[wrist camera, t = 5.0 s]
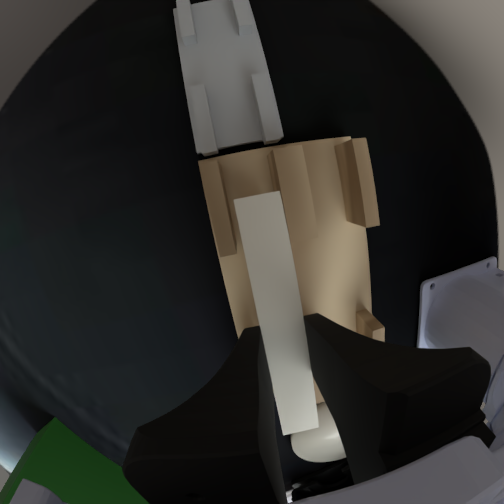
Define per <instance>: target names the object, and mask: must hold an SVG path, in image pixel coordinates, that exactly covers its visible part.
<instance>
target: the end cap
mask: <svg viewBox="0 0 504 504" xmlns="http://www.w3.org/2000/svg"><path fill="white" fill-rule="evenodd" d="M291 484H292V487H293V488H295V489H294V490H293V491H292V499H291V500H292V501H293V502H295V501H298V500H302V499H305V498H308V497H313V496H317V495H321V494H325V493H329V492H333V491H336V490H340V489H343V488H347V487H350V486H353V485H354V481H353V478H352V474H351V471H350V467H349V464H348V461H347V457H346V458H344V459H342V460H340V461H338V462H336V463H334V464H331V465H329V466H327V467H325V468H323V469H320V470H318V471H316V472H314V473H311V474H309V475H306V476H304V477H301V478H299V479H296V480H294V481H292V483H291Z"/></svg>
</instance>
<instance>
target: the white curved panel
mask: <svg viewBox="0 0 504 504" xmlns="http://www.w3.org/2000/svg"><path fill="white" fill-rule="evenodd" d="M234 205H235V209H236V214H237V219H238V224H239V229H240V234H241V239H242V244H243V249H244V253H245V258H246V263H247V268H248V273H249V277H250V282H251V287H252V292H253V297H254V301H255V306H256V311H257V316H258V320H259V325H260V328H261V333H262V337H263V342H264V347H265V352H266V356H267V361H268V366H269V370H270V375H271V380H272V385H273V390H274V395H275V399H276V404H277V409H278V413H279V418H280V422H281V427H282V431H283V435H287V434H292V433H297V432H301V431H305V430H310V429H314V428H318V427H319V423H318V414H317V406H316V399H315V391H314V384H313V376H312V371H311V364H310V357H309V351H308V344H307V337H306V331H305V325H304V319H303V318H304V317H303V311H302V305H301V300H300V294H299V288H298V282H297V277H296V271H295V266H294V260H293V255H292V250H291V244H290V239H289V234H288V229H287V224H286V219H285V214H284V209H283V204H282V199H281V195H280V191H275V192H270V193H264V194H259V195H254V196H249V197H244V198H239V199H234Z"/></svg>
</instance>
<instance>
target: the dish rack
mask: <svg viewBox="0 0 504 504" xmlns="http://www.w3.org/2000/svg"><path fill="white" fill-rule="evenodd" d="M198 163H199V168H200V173H201V178H202V183H203V188H204V193H205V198H206V202H207V207H208V212H209V216H210V221H211V226H212V230H213V235H214V239H215V244H216V248H217V253H218V257H219V261H220V266H221V270H222V274H223V278H224V283H225V287H226V291H227V295H228V299H229V303H230V307H231V311H232V316H233V320H234V323H235V327H236V331H237V335H238V339H239V337H240V335H241V333H242V331H243V330H244V328H249V327H254V326H259V320H258V316H257V311H256V306H255V301H254V297H253V292H252V287H251V282H250V277H249V273H248V268H247V263H246V258H245V253H244V249H243V244H242V239H241V234H240V229H239V224H238V219H237V214H236V209H235V205H234V199H239V198H244V197H249V196H254V195H259V194H264V193H270V192H275V191H280V195H281V199H282V204H283V209H284V214H285V219H286V224H287V229H288V234H289V239H290V244H291V250H292V255H293V260H294V266H295V271H296V277H297V282H298V288H299V294H300V300H301V305H302V311H303V316H305V315H310V314H314V313H319V314H321V315H323V316H324V317H326V318H328V319H330V320H332V321H334V322H336V323H337V324H339V325H341V326H343V327H345V328H348V329H350V330H352V331H354V332H356V333H359V334H362V335H364V336H367V337H369V338H372V339H376V340H379V341H383V342H384V333H385V327H384V326H383V325H382V324H381V323H380V322H379V321H378V320H377V319H376V318H375V317H374V316H373V315H372V308H371V285H370V270H369V257H368V246H367V236H366V228H368V227H373V226H378V225H380V223H379V214H378V206H377V199H376V192H375V185H374V179H373V173H372V167H371V161H370V156H369V151H368V146H367V141H366V138H357V139H351V137H339V138H330V139H321V140H313V141H305V142H298V143H291V144H284V145H277V146H271V147H265V148H260V149H254V150H249V151H243V152H238V153H233V154H228V155H223V156H219V157H214V158H209V159H205V160H201V161H198ZM312 376H313V374H312ZM313 384H314V391H315V399H316V404H317V403H321V402H325V401H324V399H323V397H322V395H321V392H320V390H319V388H318V386H317V384H316V382H315V380H314V377H313ZM273 391H274V390H273Z"/></svg>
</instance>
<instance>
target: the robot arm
mask: <svg viewBox="0 0 504 504" xmlns="http://www.w3.org/2000/svg"><path fill="white" fill-rule="evenodd" d="M431 284H432V286H431V288H430V285H431ZM303 317H304V318H303V319H304V325H305V331H306V337H307V344H308V351H309V357H310V364H311V371H312V374H313V377H314V380H315V382H316V384H317V386H318V388H319V390H320V392H321V395H322V397H323V399H324V401H325V403H326V405H327V407H328V409H329V411H330V413H331V415H332V417H333V419H334V422H335V424H336V427H337V430H338V432H339V435H340V438H341V442H342V445H343V448H344V451H345V454H346V457H347V461H348V464H349V467H350V471H351V474H352V478H353V481H354V485H353V486H350V487H347V488H343V489H340V490H336V491H333V492H329V493H325V494H321V495H317V496H313V497H308V498H305V499H302V500H298V501H295V502H291V503H287V497H286V492H285V486H284V481H283V475H282V470H281V464H280V459H279V453H278V447H277V441H276V432H275V414H274V396H273V385H272V380H271V375H270V370H269V366H268V361H267V356H266V352H265V347H264V342H263V337H262V333H261V328H260V325H259V326H254V327H249V328H244V330H243V331H242V333H241V335H240V337H239V339H238V341H237V343H236V345H235V347H234V348H233V350H232V352H231V353H230V355H229V357H228V358H227V360H226V361H225V362H224V364H223V365H222V367H221V368H220V369H219V371H218V372H217V373H216V374H215V376H214V377H213V378H212V379H211V380H210V381H209V382H208V383H207V384H206V385H205V386H204V387H203V388H201V389H200V390H199V391H198V392H197V393H195V394H194V395H193V396H192V397H191V398H189V399H188V400H187V401H185V402H184V403H183V404H181V405H180V406H178V407H177V408H175V409H173V410H172V411H170V412H168V413H167V414H165V415H163V416H161V417H159V418H157V419H155V420H153V421H151V422H149V423H147V424H145V425H142V426H140V427H137V429H136V431H135V434H134V436H133V438H132V440H131V443H130V446H129V449H128V452H127V455H126V458H125V461H124V464H123V467H122V471H123V475H124V477H125V478H126V480H127V481H128V482H129V484H130V485H131V486H132V487H133V488H134V489H135V490H136V491H137V492H138V493H139V494H140V495H141V496H142V497H143V498H144V499H145V500H146V501H147V502H148V503H149V504H504V271H503V270H500V269H498V268H497V259H496V258H495V257H490V258H487V259H485V260H482V261H479V262H477V263H474V264H471V265H469V266H466V267H463V268H460V269H458V270H455V271H452V272H449V273H446V274H443V275H440V276H437V277H434V278H431V279H428V280H425V281H424V282H423V283H422V284H421V286H420V308H419V325H418V338H417V348H415V347H408V346H401V345H395V344H391V343H387V342H383V341H379V340H376V339H372V338H369V337H367V336H364V335H362V334H359V333H356V332H354V331H352V330H350V329H348V328H345V327H343V326H341V325H339V324H337V323H336V322H334V321H332V320H330V319H328V318H326V317H324V316H323V315H321V314H319V313H314V314H310V315H305V316H303ZM482 402H484V403H485V404H486V405H485V407H484V409H483V410H481V409H480V407H481V405H482ZM485 418H486V419H487V420H488V423H487V424H485V423H484V422H483V421H484V420H485ZM9 504H68V503H65V502H62V500H61V499H60V498H59V497H58V496H57V495H56V494H55V493H53V492H52V491H51V490H49V489H48V488H46V487H44V486H42V485H39V484H37V483H34V482H32V481H30V480H27V479H22V481H21V483H20V485H19V487H18V488H17V490H16V492H15V494H14V496H13V498H12V500H11V502H10V503H9Z"/></svg>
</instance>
